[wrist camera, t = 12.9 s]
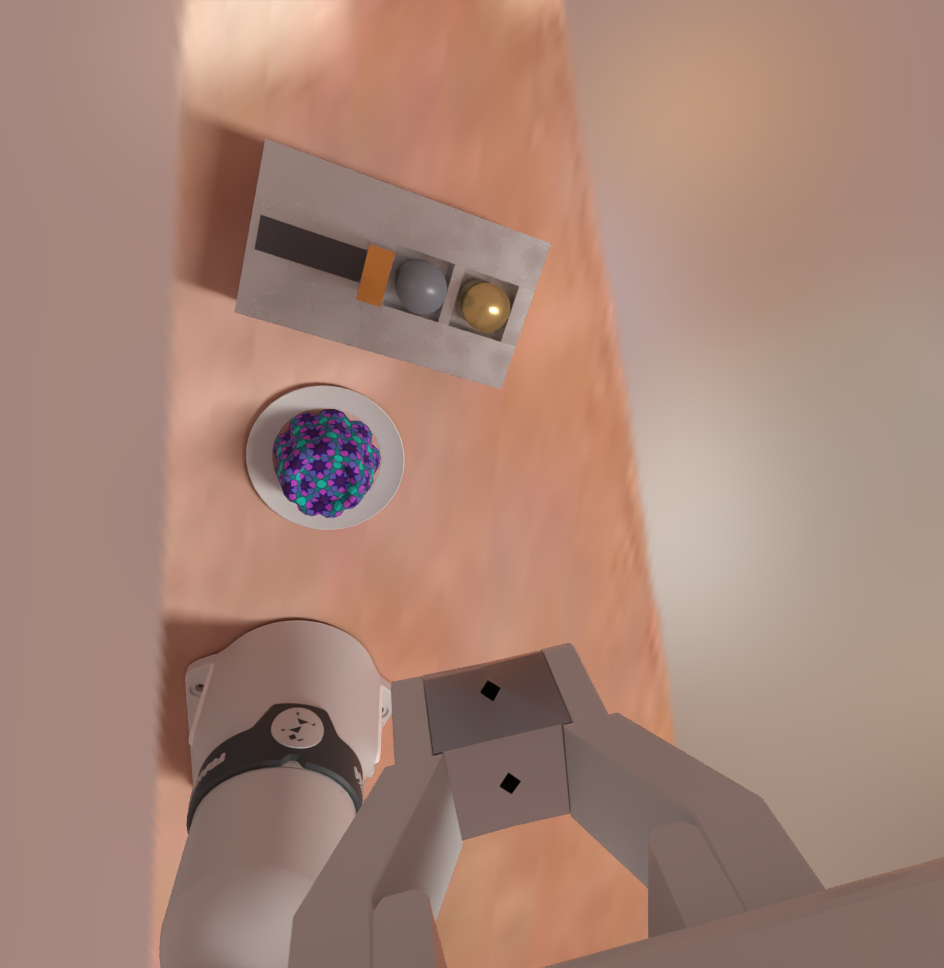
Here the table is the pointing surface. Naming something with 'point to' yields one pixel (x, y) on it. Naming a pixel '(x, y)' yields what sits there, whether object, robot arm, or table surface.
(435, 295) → the button slate
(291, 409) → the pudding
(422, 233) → the panel
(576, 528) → the table surface
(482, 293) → the button brass
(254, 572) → the table surface
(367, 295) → the slider
